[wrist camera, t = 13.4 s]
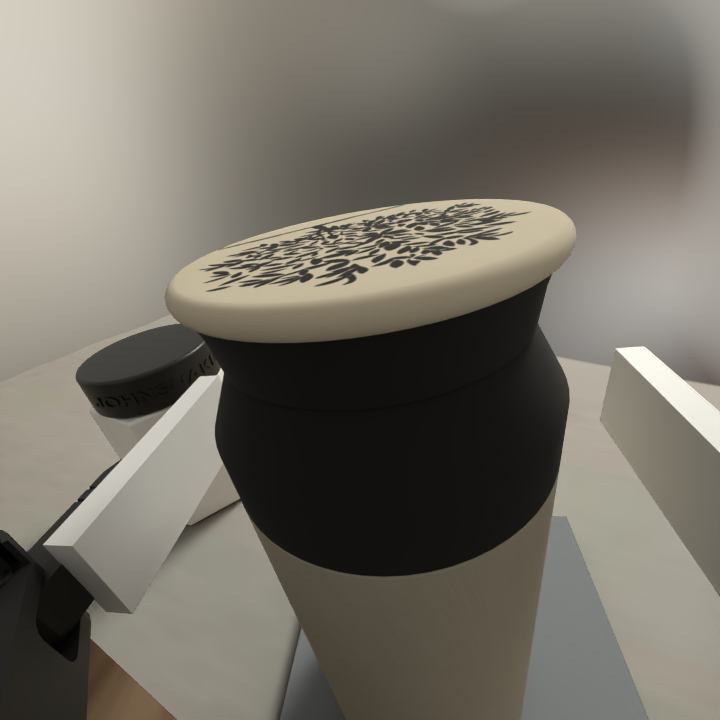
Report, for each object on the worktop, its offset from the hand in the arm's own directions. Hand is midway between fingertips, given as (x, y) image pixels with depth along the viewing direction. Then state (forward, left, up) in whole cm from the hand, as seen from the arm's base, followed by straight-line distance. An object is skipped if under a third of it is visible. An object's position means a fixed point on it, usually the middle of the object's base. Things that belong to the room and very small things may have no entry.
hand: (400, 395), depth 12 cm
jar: (-17, +8, -13) cm, 23 cm away
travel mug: (0, -3, -12) cm, 13 cm away
